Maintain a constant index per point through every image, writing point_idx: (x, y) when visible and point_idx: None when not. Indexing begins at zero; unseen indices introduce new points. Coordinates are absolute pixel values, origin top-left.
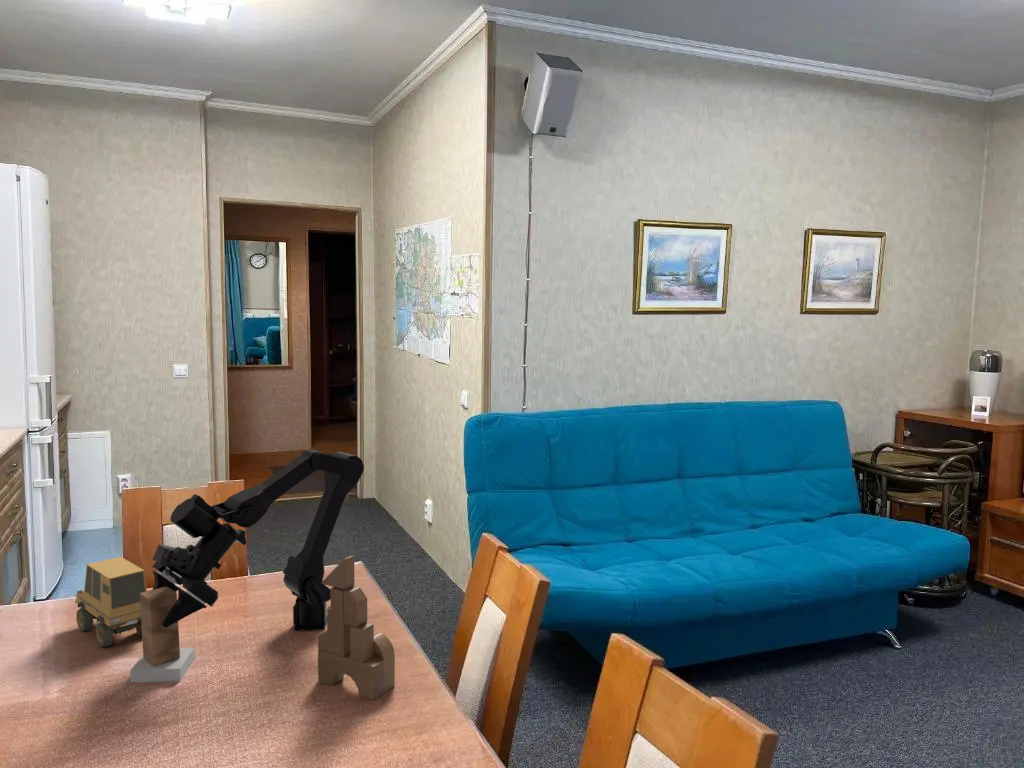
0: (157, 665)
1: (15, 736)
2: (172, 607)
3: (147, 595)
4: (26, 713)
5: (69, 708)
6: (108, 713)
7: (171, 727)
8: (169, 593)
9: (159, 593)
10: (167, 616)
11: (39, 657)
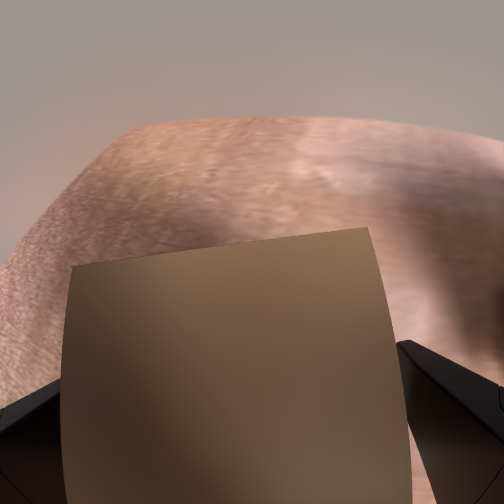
0: None
1: (182, 126)
2: (18, 416)
3: (214, 280)
4: (250, 133)
5: (216, 186)
6: (140, 243)
7: (27, 322)
8: (93, 494)
9: (177, 422)
10: (53, 386)
11: (492, 173)
